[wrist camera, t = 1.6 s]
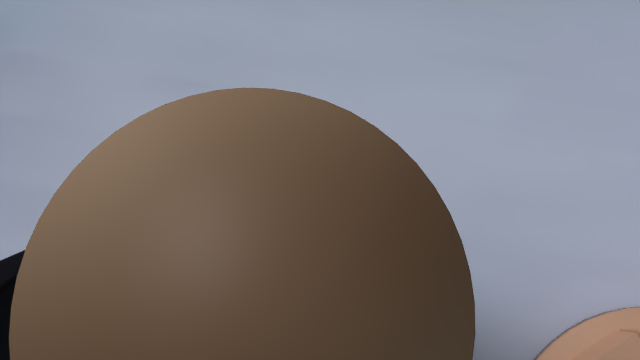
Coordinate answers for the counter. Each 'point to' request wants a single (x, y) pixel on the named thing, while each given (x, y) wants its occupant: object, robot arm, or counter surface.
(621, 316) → the collar dish
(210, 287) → the dowel
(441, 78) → the counter surface
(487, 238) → the counter surface
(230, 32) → the counter surface
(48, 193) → the counter surface
